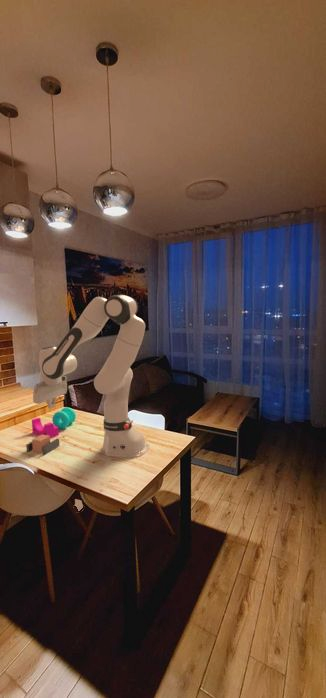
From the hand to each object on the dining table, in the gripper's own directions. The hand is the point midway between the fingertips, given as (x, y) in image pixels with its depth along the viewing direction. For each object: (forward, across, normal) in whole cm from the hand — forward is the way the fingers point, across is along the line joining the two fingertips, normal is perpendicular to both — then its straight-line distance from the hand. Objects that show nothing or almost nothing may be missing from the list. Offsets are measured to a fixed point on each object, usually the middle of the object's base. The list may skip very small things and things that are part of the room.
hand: (51, 407), depth 145 cm
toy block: (+18, +7, +12) cm, 23 cm away
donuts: (+18, +20, +9) cm, 28 cm away
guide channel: (+18, -8, 0) cm, 19 cm away
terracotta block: (+18, -8, 0) cm, 20 cm away
